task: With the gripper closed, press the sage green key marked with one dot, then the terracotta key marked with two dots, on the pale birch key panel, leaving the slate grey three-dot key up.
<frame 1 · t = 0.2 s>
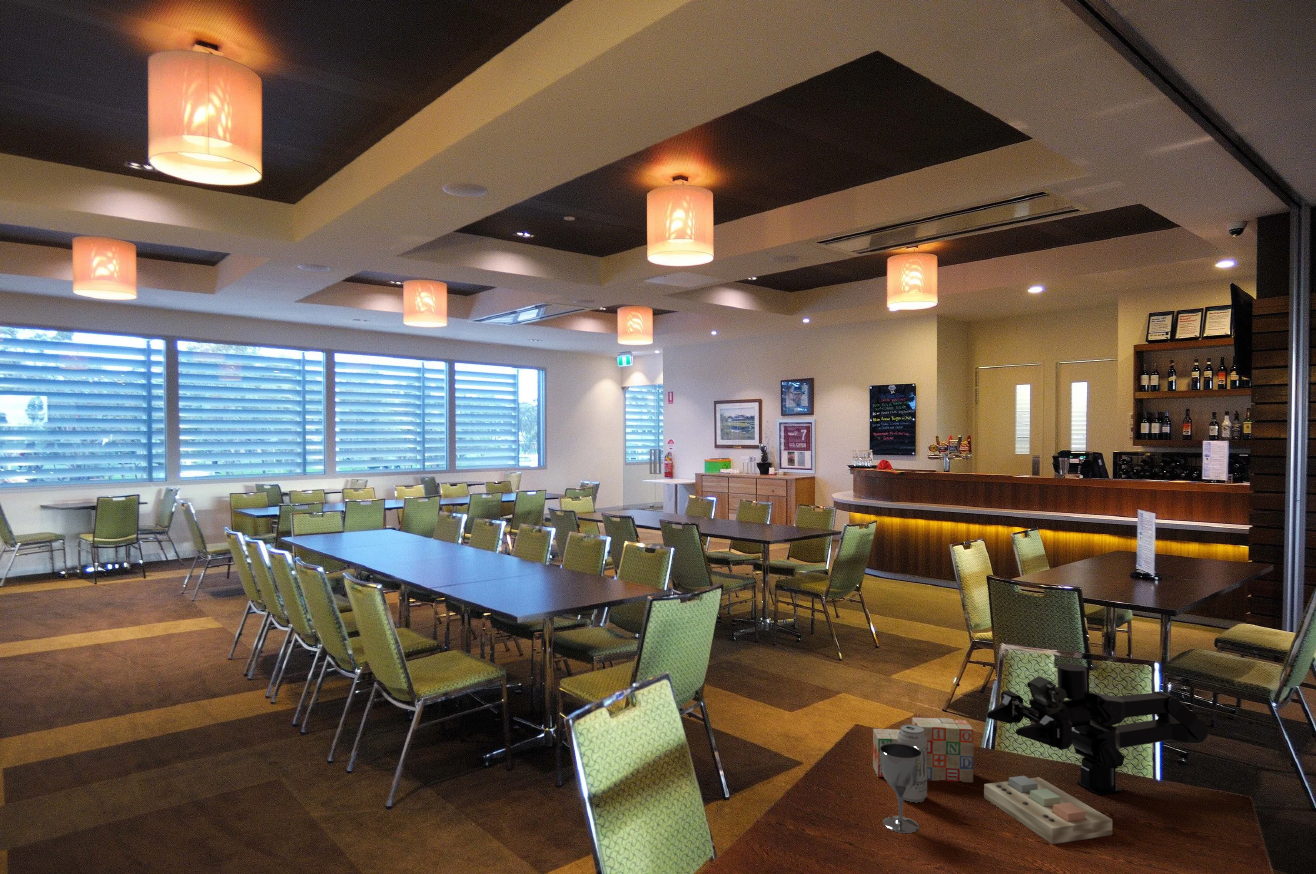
hand: (1001, 723, 168), 17 cm above the table, tool horizontal, fingers open, 9 cm apart
stack of blocks: (922, 775, 182), on the table
one-dot key: (1045, 798, 162), point 4 cm above the table, slide at 0.0 cm
wine glass: (900, 825, 158), on the table
three-dot key: (1023, 784, 168), point 4 cm above the table, slide at 0.0 cm
two-dot key: (1068, 812, 156), point 4 cm above the table, slide at 0.0 cm
energy drink can: (912, 798, 170), on the table
key panel: (1045, 815, 162), on the table
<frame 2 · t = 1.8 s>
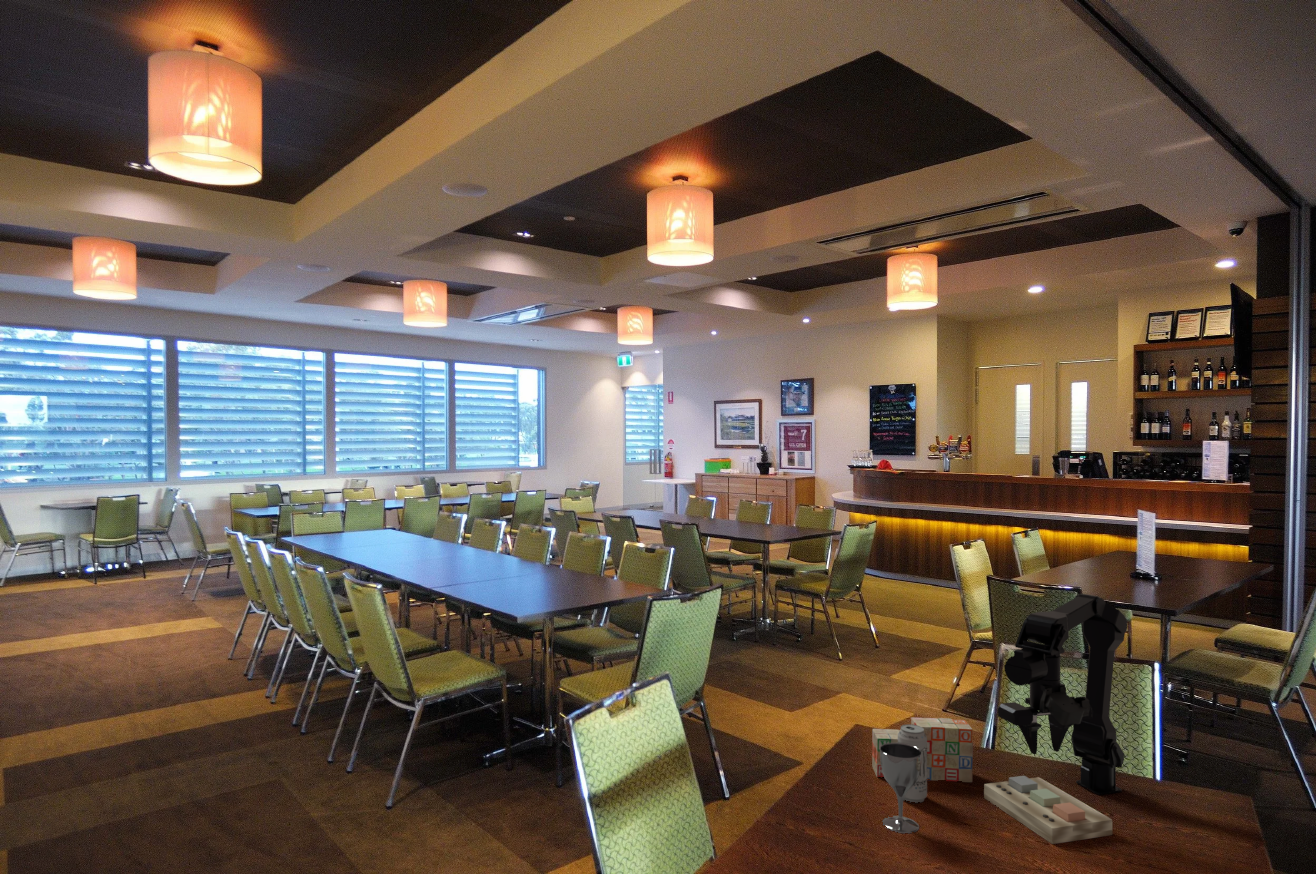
hand: (1044, 752, 162), 13 cm above the table, tool pointing down, fingers open, 5 cm apart
nothing on the table moved.
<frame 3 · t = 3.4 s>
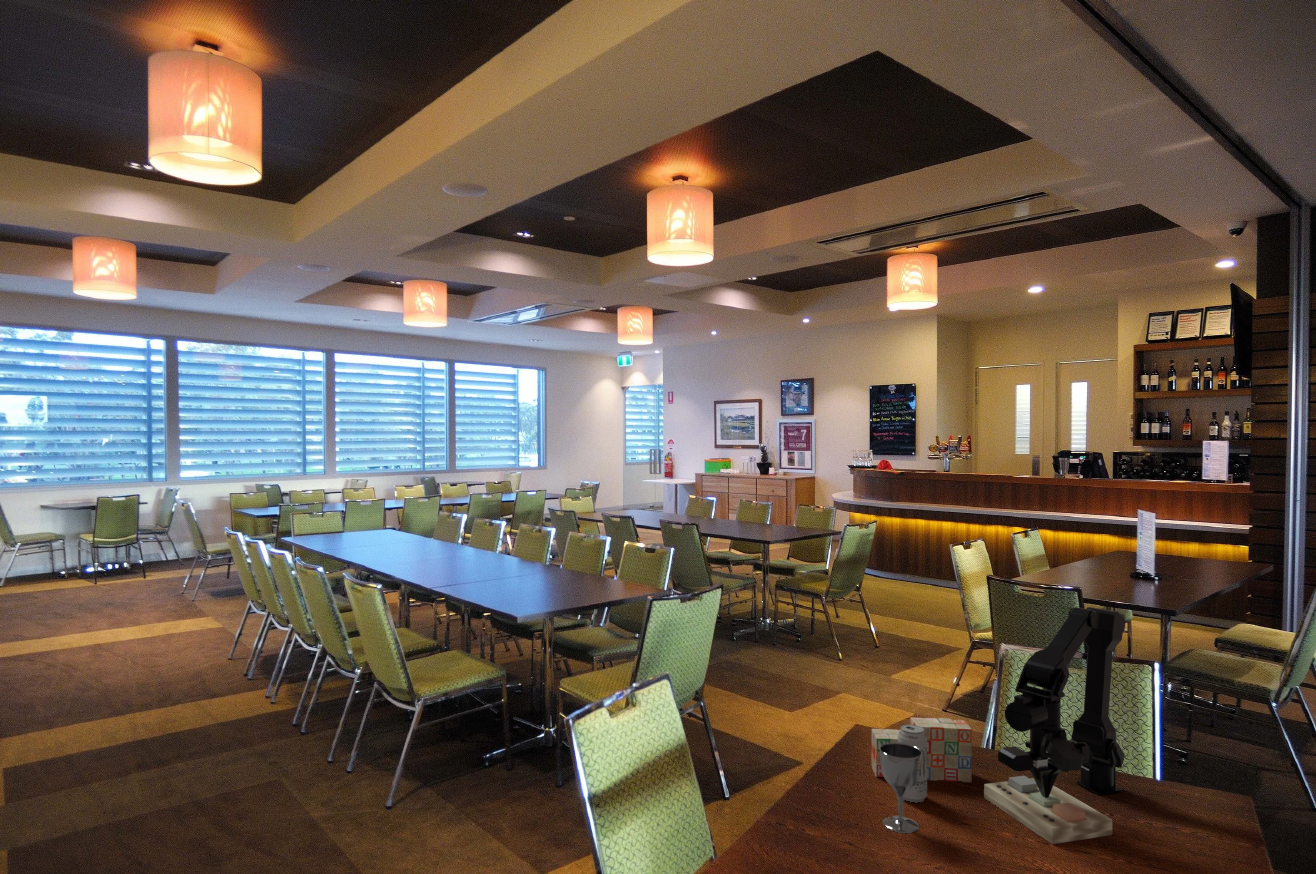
hand: (1045, 796, 162), 4 cm above the table, tool pointing down, fingers closed, pressing on one-dot key
one-dot key: (1045, 801, 162), point 3 cm above the table, slide at 0.6 cm, touching gripper
everything else where it was.
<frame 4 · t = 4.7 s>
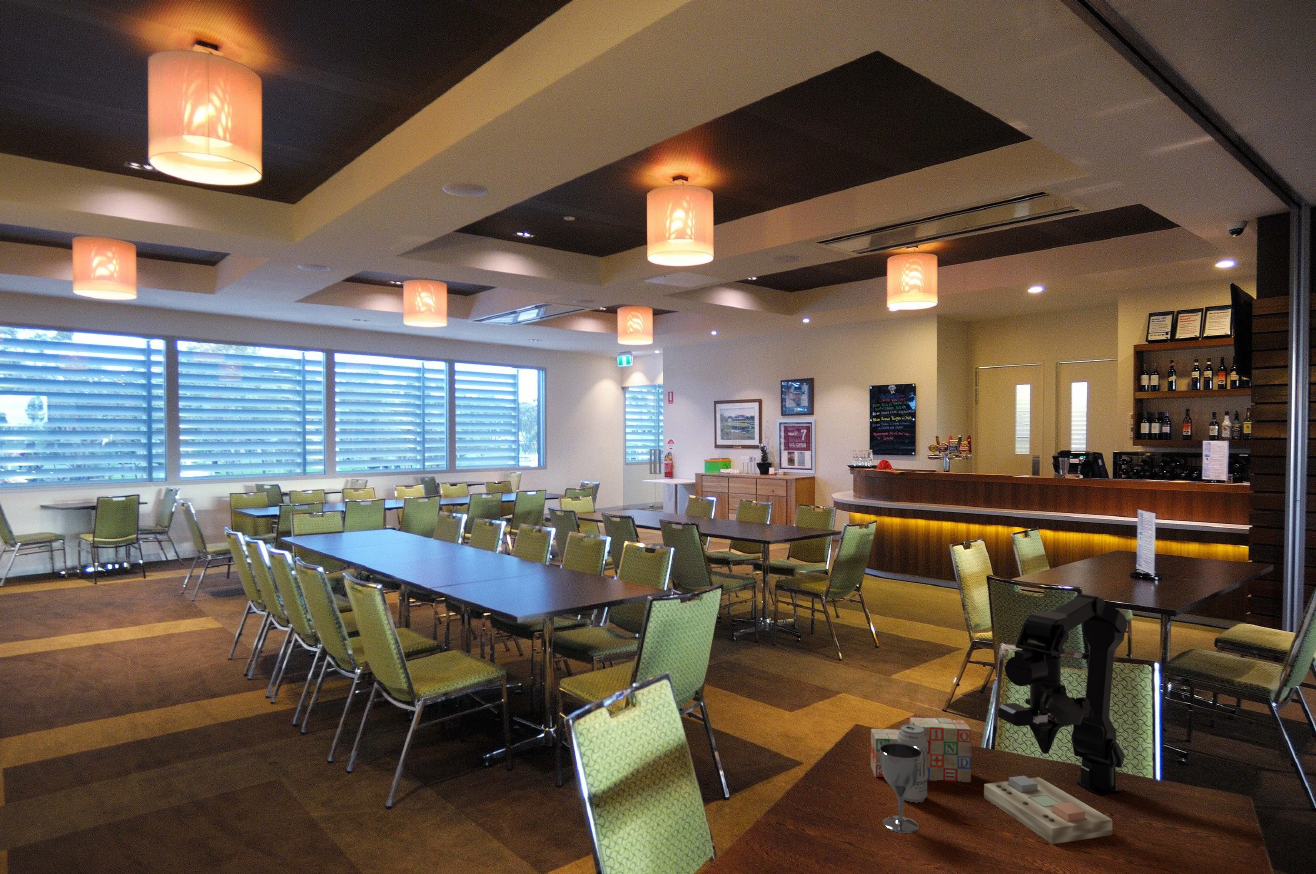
hand: (1045, 753, 162), 13 cm above the table, tool pointing down, fingers closed
one-dot key: (1045, 805, 162), point 2 cm above the table, slide at 1.5 cm
everything else where it was.
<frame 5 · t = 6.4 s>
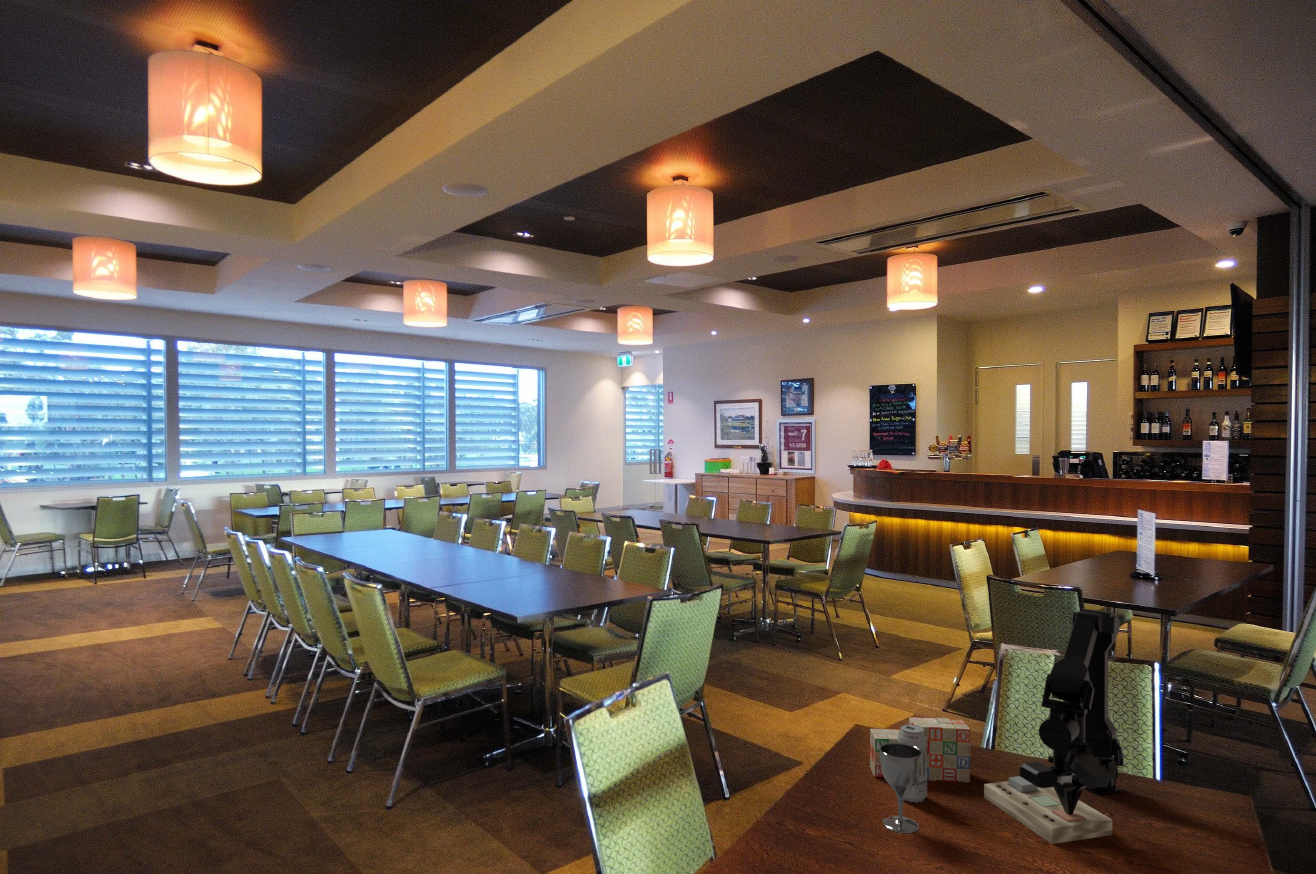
hand: (1068, 813, 156), 3 cm above the table, tool pointing down, fingers closed, pressing on two-dot key
two-dot key: (1068, 818, 156), point 2 cm above the table, slide at 1.2 cm, touching gripper
everything else where it was.
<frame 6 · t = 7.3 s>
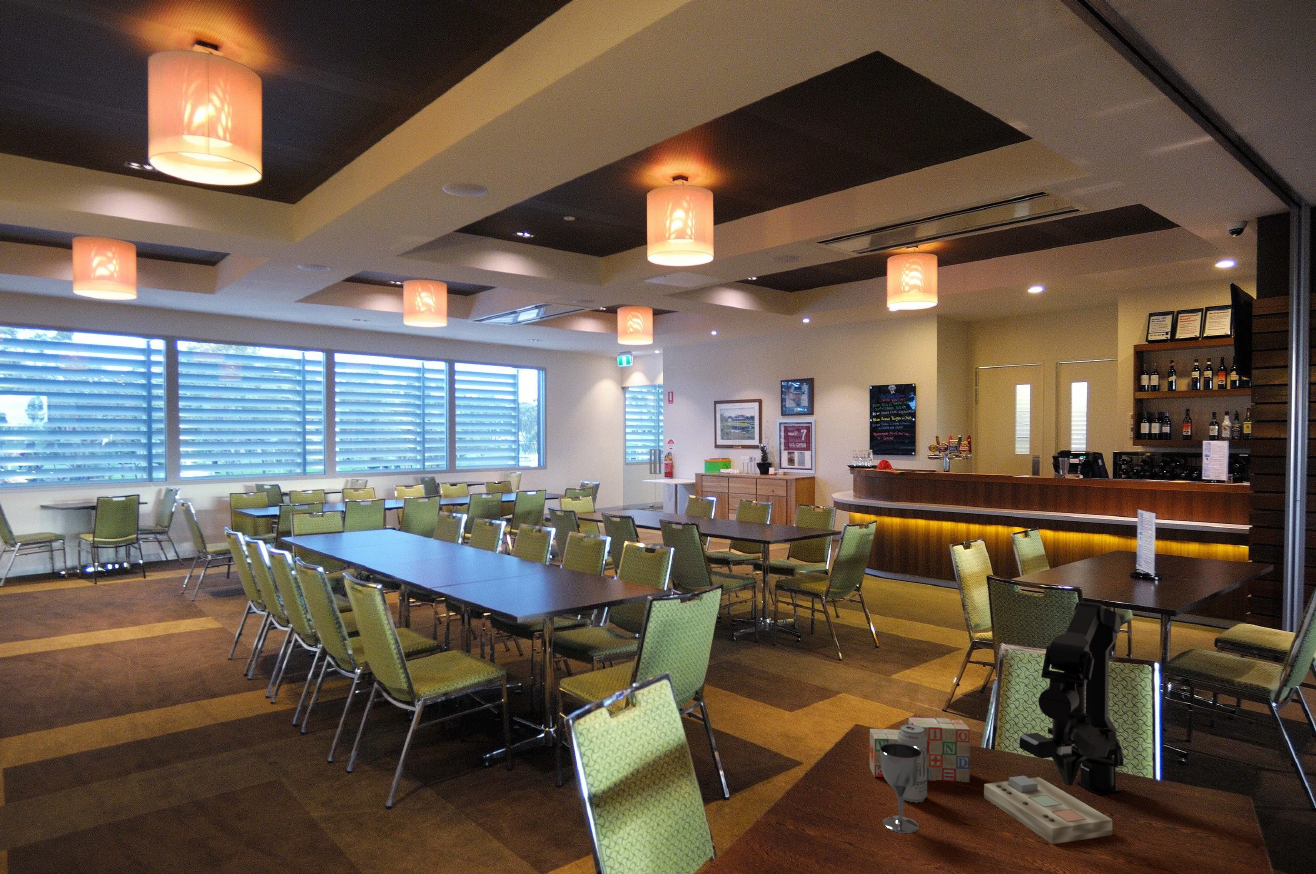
hand: (1068, 785, 155), 9 cm above the table, tool pointing down, fingers closed
two-dot key: (1068, 820, 156), point 2 cm above the table, slide at 1.5 cm
everything else where it was.
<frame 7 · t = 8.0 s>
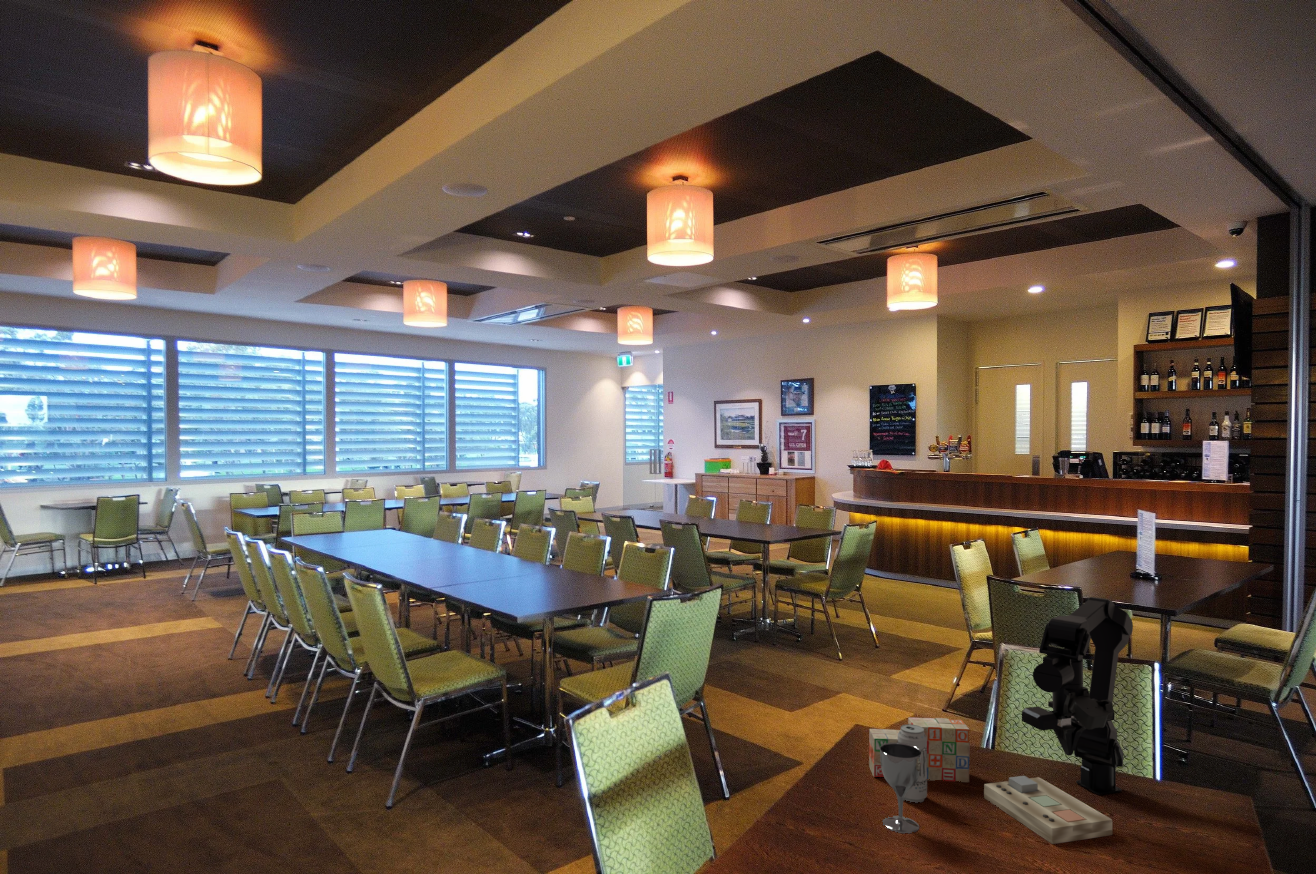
hand: (1068, 754, 163), 12 cm above the table, tool pointing down, fingers closed
nothing on the table moved.
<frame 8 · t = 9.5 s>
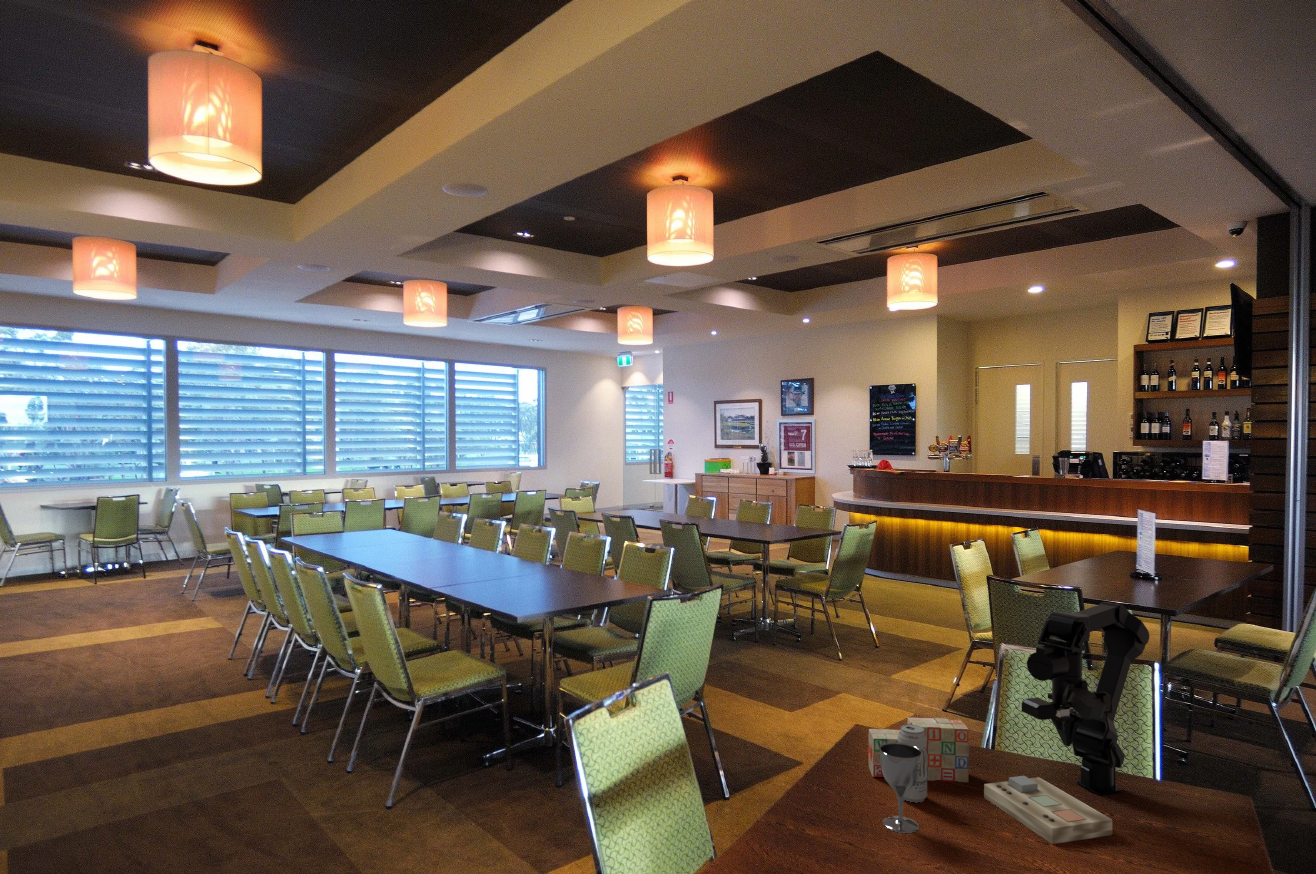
hand: (1066, 745, 168), 12 cm above the table, tool pointing down, fingers closed
at the end: one-dot key slide at 1.5 cm; two-dot key slide at 1.5 cm; three-dot key slide at 0.0 cm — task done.
